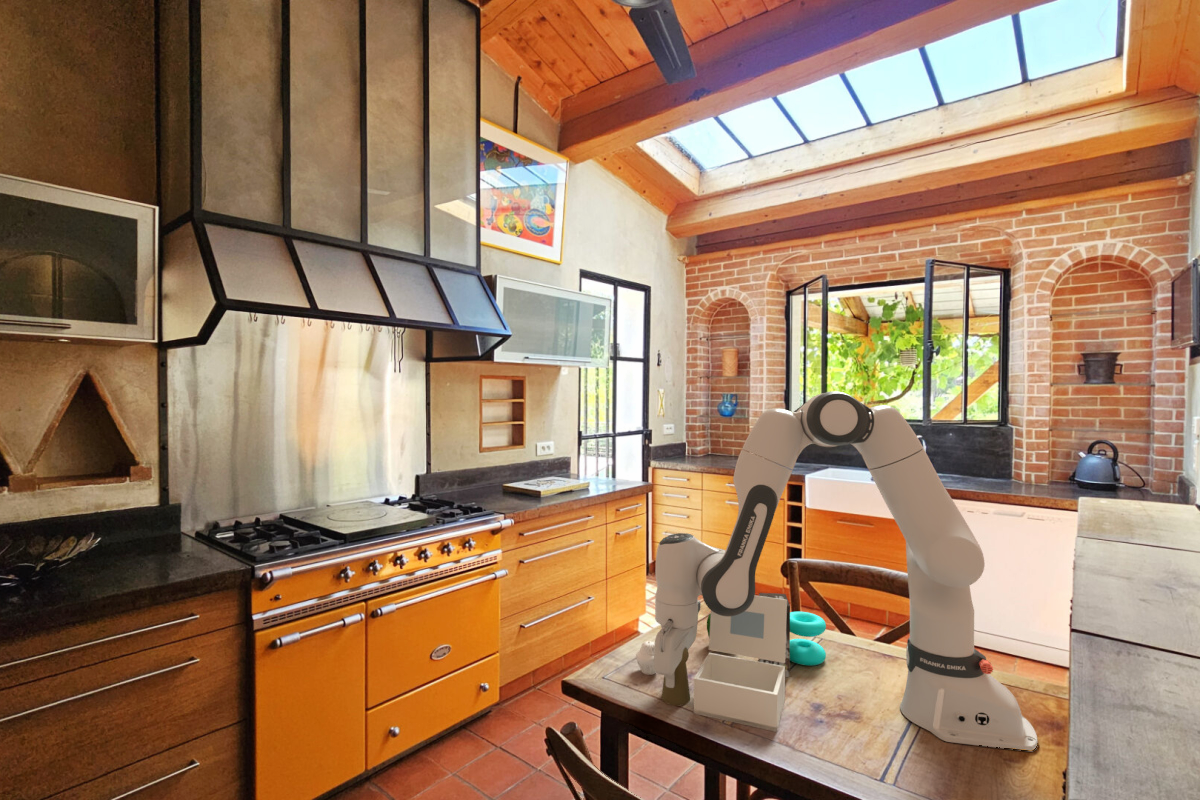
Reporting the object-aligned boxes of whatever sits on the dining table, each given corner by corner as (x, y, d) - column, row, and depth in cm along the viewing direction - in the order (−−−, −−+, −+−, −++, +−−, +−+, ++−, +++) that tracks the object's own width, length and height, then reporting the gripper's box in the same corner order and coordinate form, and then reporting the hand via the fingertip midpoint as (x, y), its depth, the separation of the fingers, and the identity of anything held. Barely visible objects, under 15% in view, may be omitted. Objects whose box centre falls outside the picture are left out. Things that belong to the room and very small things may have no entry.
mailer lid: (784, 663, 123) (785, 662, 124) (786, 600, 126) (787, 599, 126) (708, 649, 129) (709, 649, 130) (711, 589, 132) (712, 589, 133)
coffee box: (790, 677, 133) (790, 606, 133) (761, 675, 135) (761, 604, 134) (786, 660, 142) (786, 593, 142) (758, 657, 143) (758, 591, 143)
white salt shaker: (630, 670, 137) (630, 640, 137) (650, 663, 140) (650, 633, 140) (647, 680, 132) (648, 649, 132) (668, 673, 135) (668, 642, 135)
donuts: (823, 611, 147) (828, 626, 137) (822, 651, 147) (828, 669, 137) (781, 608, 149) (783, 622, 140) (781, 647, 149) (783, 665, 140)
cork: (696, 697, 124) (696, 645, 124) (679, 708, 120) (679, 654, 120) (672, 688, 128) (672, 637, 128) (655, 698, 124) (655, 645, 124)
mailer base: (784, 699, 123) (784, 666, 123) (777, 731, 112) (777, 694, 112) (708, 684, 130) (708, 652, 130) (693, 713, 118) (693, 678, 118)
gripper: (677, 632, 113) (676, 704, 113) (702, 599, 132) (702, 661, 132) (645, 627, 116) (645, 697, 116) (675, 595, 134) (675, 656, 135)
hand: (676, 678), depth 124 cm, fingers open, 6 cm apart
